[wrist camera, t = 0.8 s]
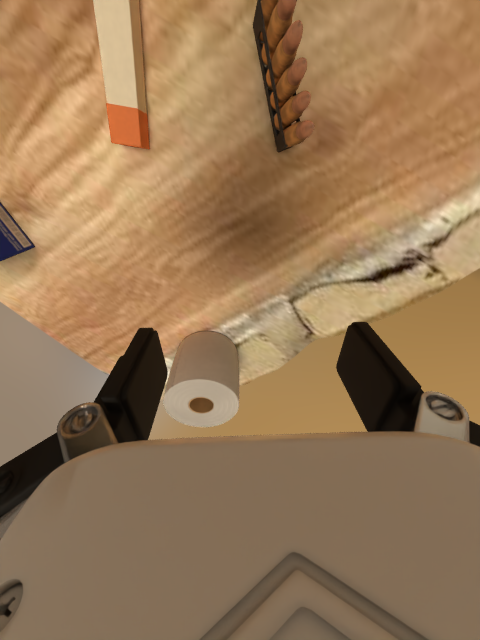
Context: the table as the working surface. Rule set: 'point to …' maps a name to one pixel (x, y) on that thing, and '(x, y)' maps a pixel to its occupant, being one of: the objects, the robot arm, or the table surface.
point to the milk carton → (11, 236)
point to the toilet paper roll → (203, 381)
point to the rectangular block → (123, 70)
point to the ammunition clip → (282, 70)
